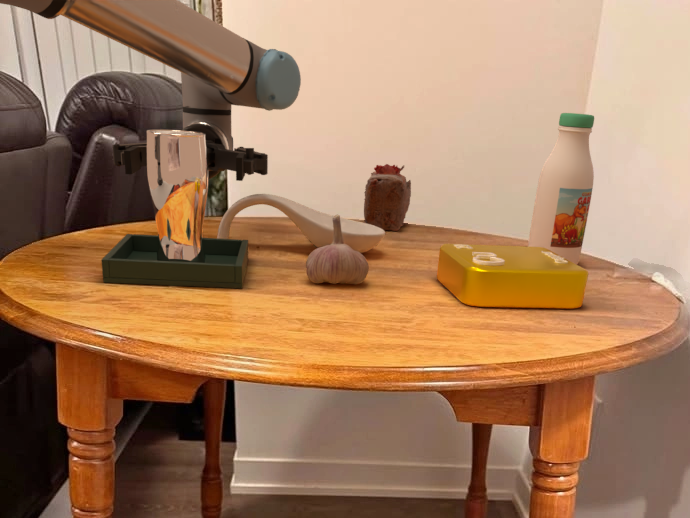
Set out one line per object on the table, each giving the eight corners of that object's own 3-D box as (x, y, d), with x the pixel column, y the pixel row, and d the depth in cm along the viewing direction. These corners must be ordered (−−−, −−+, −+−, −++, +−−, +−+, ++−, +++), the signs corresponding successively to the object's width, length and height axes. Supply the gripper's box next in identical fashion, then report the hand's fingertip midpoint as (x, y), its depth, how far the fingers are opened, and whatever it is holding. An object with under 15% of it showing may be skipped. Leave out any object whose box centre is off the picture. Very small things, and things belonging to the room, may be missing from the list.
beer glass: (182, 274, 91) (177, 135, 84) (140, 264, 94) (131, 129, 87) (222, 265, 96) (219, 134, 90) (180, 256, 100) (175, 128, 93)
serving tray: (103, 282, 88) (101, 259, 87) (128, 254, 102) (126, 233, 101) (242, 288, 90) (241, 266, 88) (248, 259, 103) (248, 239, 102)
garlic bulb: (295, 284, 93) (297, 214, 89) (320, 273, 99) (323, 207, 95) (354, 293, 91) (358, 222, 87) (376, 281, 97) (380, 215, 93)
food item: (364, 216, 142) (368, 158, 137) (408, 219, 142) (413, 161, 137) (360, 229, 130) (364, 166, 125) (408, 232, 130) (414, 169, 125)
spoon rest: (381, 246, 117) (384, 196, 114) (386, 263, 107) (390, 208, 104) (223, 237, 116) (222, 186, 112) (213, 253, 105) (211, 197, 102)
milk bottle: (526, 265, 112) (550, 112, 103) (524, 255, 119) (547, 110, 110) (580, 270, 111) (610, 116, 102) (576, 260, 118) (603, 115, 109)
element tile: (587, 310, 91) (596, 268, 89) (465, 307, 88) (470, 264, 86) (540, 279, 104) (547, 243, 102) (432, 276, 101) (436, 239, 99)
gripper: (285, 182, 118) (284, 203, 99) (117, 172, 116) (83, 192, 97) (286, 128, 115) (285, 139, 96) (113, 117, 112) (77, 126, 93)
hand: (183, 166), depth 96 cm, fingers open, 13 cm apart
